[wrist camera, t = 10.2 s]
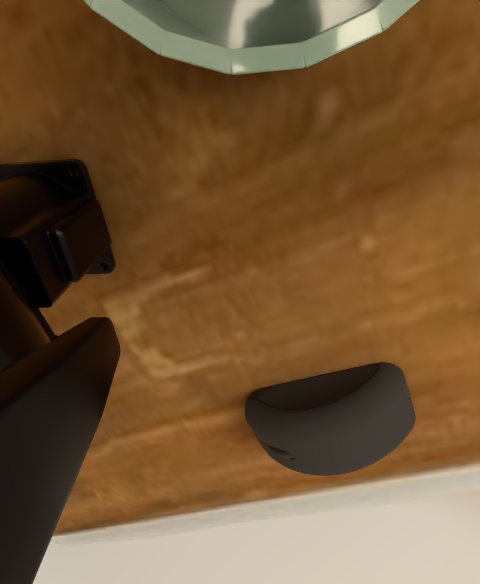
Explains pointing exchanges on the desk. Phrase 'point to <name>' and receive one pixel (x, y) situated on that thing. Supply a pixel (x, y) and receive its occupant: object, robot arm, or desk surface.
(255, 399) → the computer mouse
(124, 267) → the desk surface
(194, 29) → the pen pot
